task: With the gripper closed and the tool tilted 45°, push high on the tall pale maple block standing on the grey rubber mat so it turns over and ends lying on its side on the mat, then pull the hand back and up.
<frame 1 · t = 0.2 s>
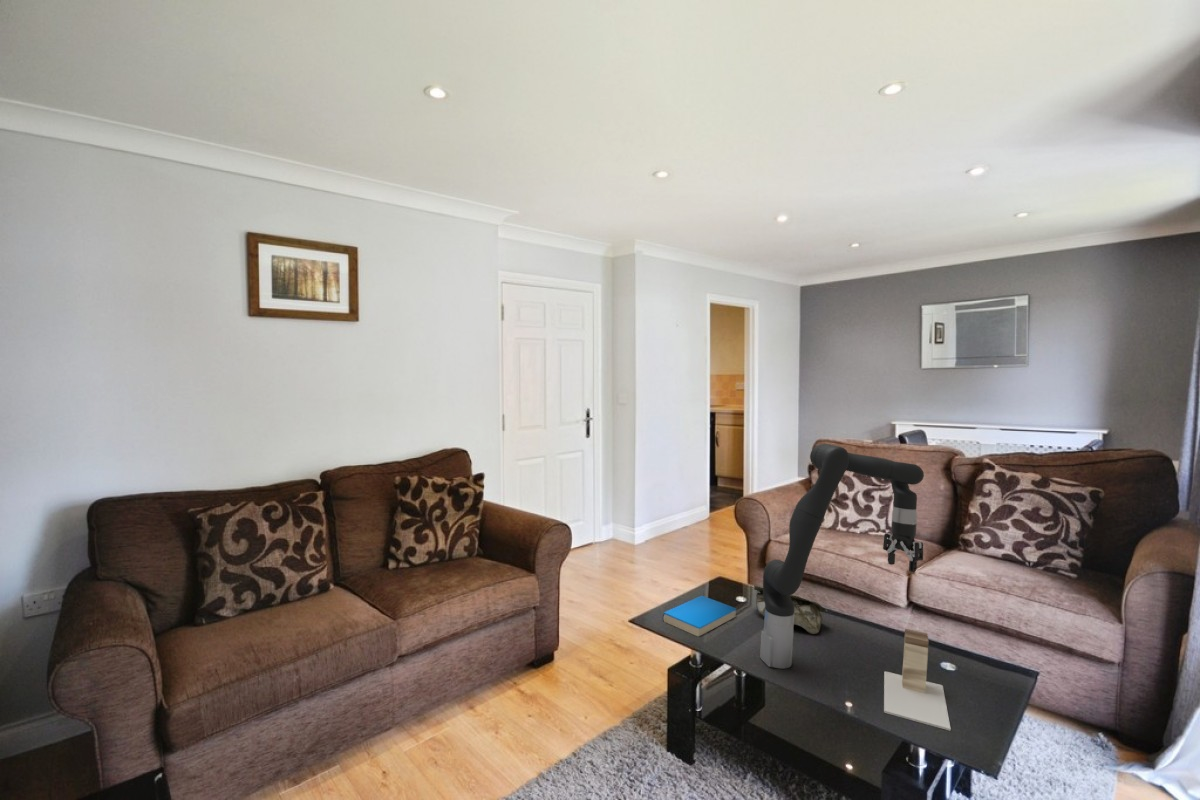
hand: (901, 567, 190), 30 cm above the table, tool pointing down, fingers open, 8 cm apart
weathered driftwood: (786, 622, 213), on the table
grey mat: (914, 699, 163), on the table
book: (699, 620, 213), on the table
maple block: (913, 685, 169), point 1 cm above the table, touching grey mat
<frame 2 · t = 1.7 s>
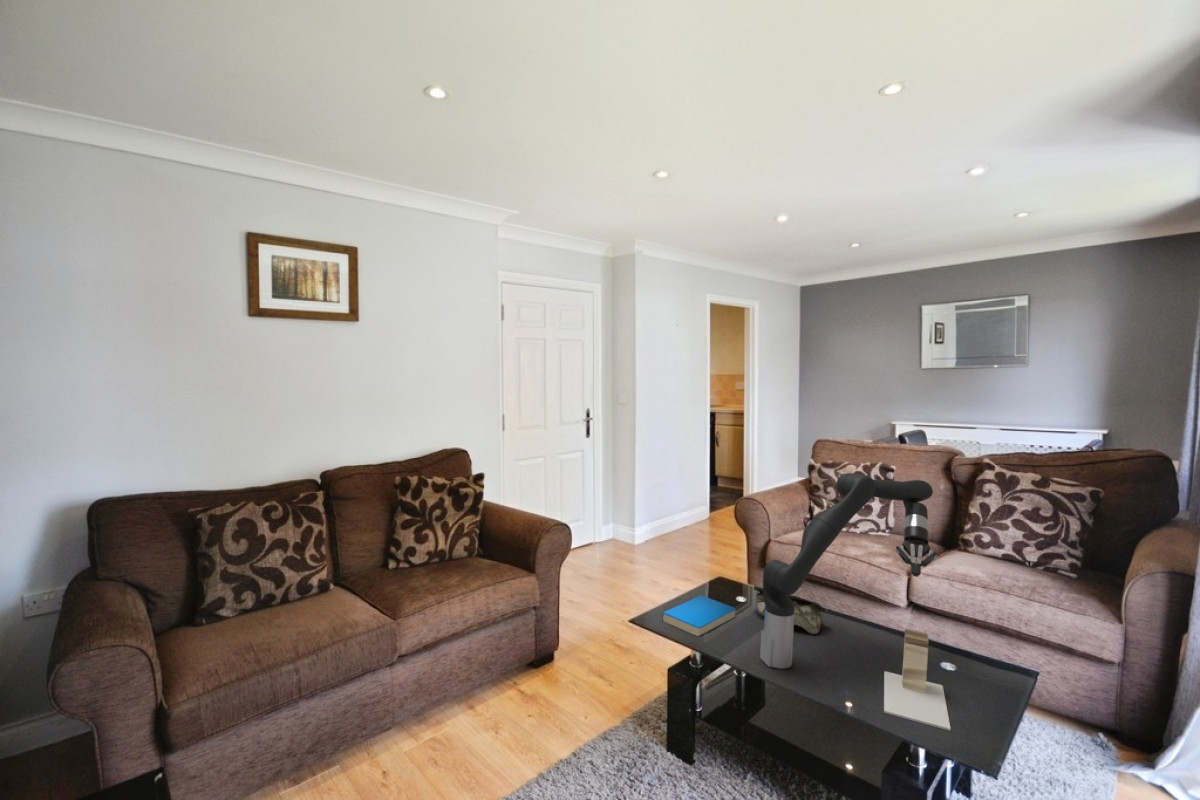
hand: (915, 575, 185), 29 cm above the table, tool tilted 45°, fingers closed
nothing on the table moved.
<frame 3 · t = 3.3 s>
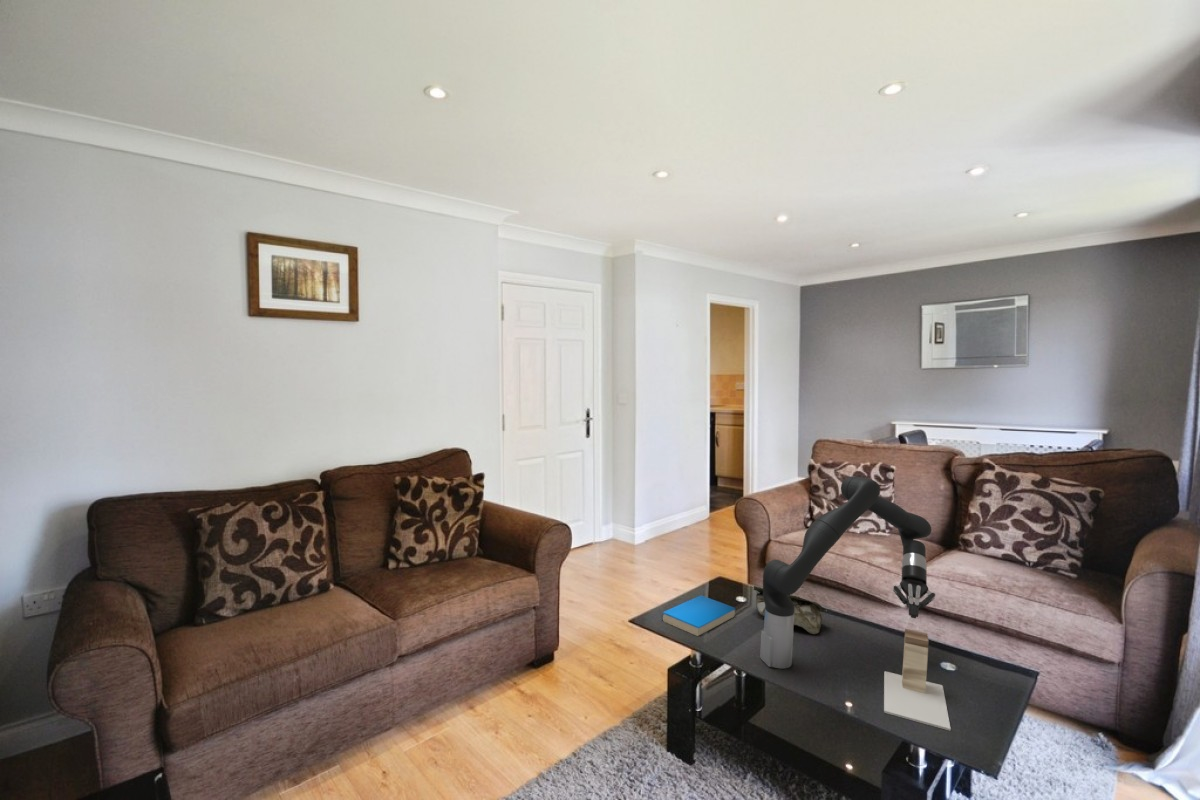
hand: (913, 617, 182), 16 cm above the table, tool tilted 45°, fingers closed
nothing on the table moved.
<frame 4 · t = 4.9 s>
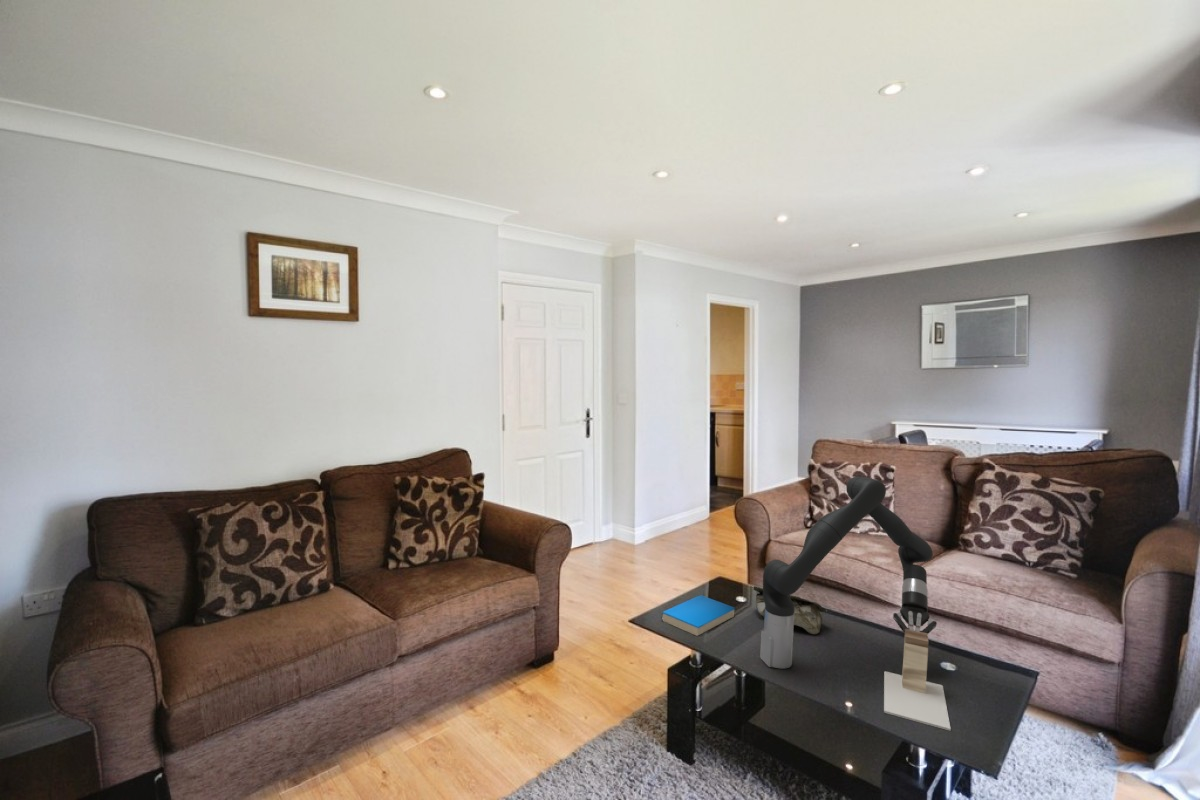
hand: (914, 646, 175), 10 cm above the table, tool tilted 45°, fingers closed
nothing on the table moved.
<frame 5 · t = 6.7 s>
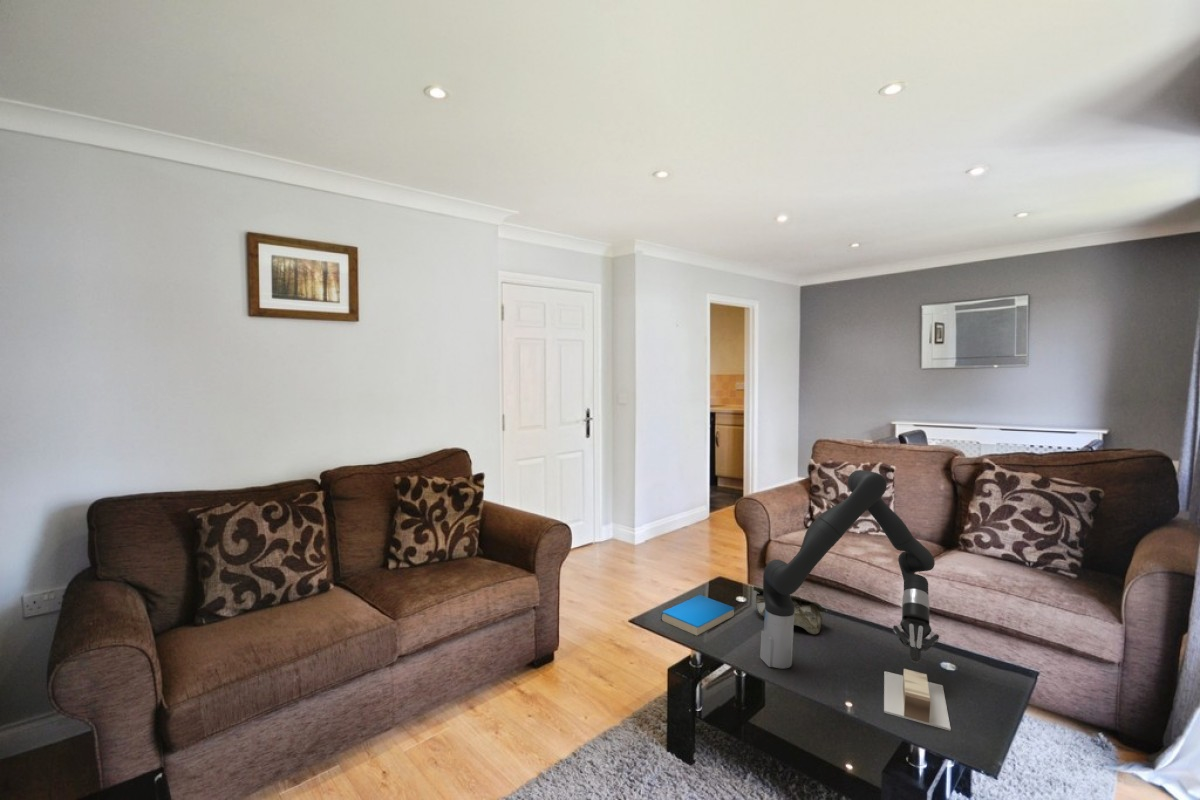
hand: (915, 661, 166), 10 cm above the table, tool tilted 45°, fingers closed
maple block: (914, 681, 166), point 4 cm above the table, tilted 90°, touching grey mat
everything else where it was.
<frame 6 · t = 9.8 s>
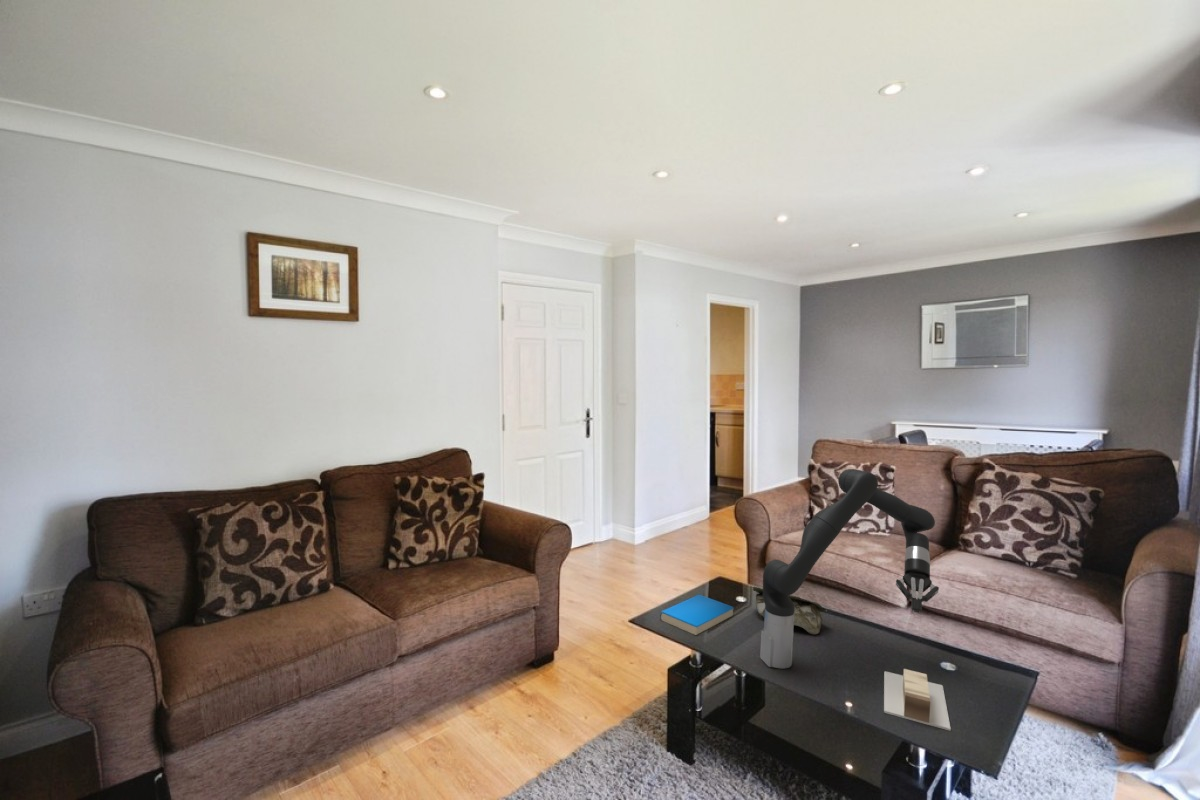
hand: (916, 611, 178), 20 cm above the table, tool tilted 45°, fingers closed
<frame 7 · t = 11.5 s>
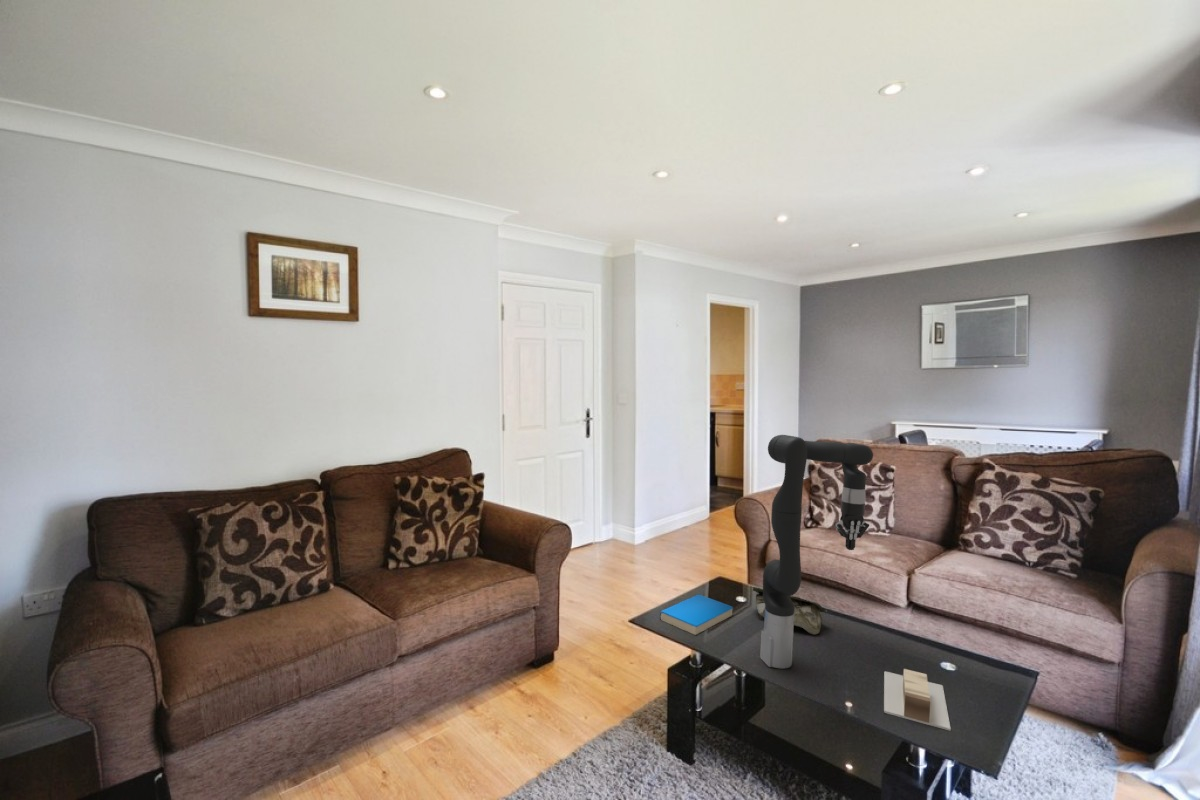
hand: (850, 549, 193), 35 cm above the table, tool pointing down, fingers closed
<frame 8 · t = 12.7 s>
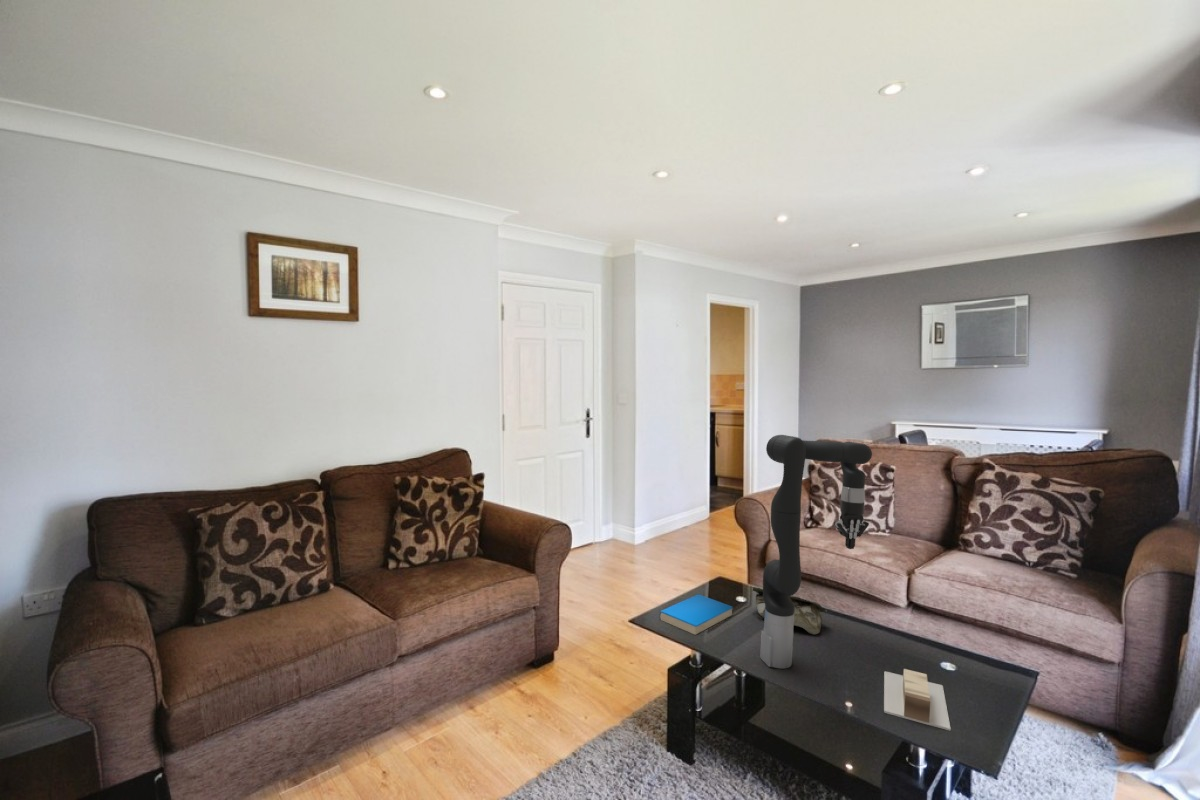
hand: (850, 548, 193), 35 cm above the table, tool pointing down, fingers closed
at the end: maple block tilted 90°; maple block inside the target area on the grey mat (3.9 cm from its centre), point 3.6 cm above the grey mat's base; the gripper is holding nothing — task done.
